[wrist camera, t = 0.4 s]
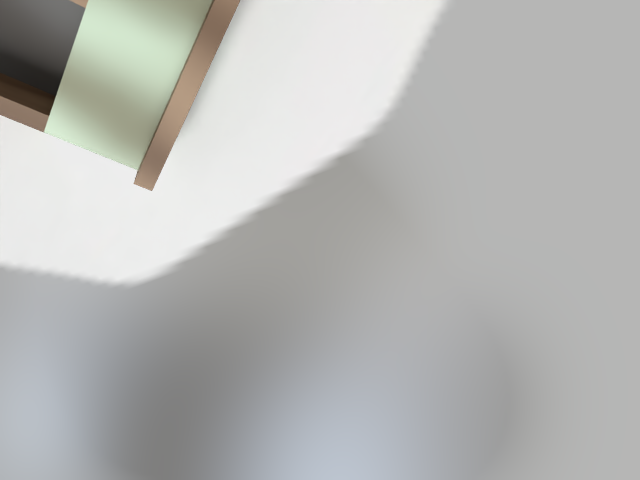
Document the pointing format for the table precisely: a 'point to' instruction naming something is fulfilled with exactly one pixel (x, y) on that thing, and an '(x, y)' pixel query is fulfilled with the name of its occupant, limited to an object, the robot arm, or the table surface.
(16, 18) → the multicoloured piece
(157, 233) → the table surface
